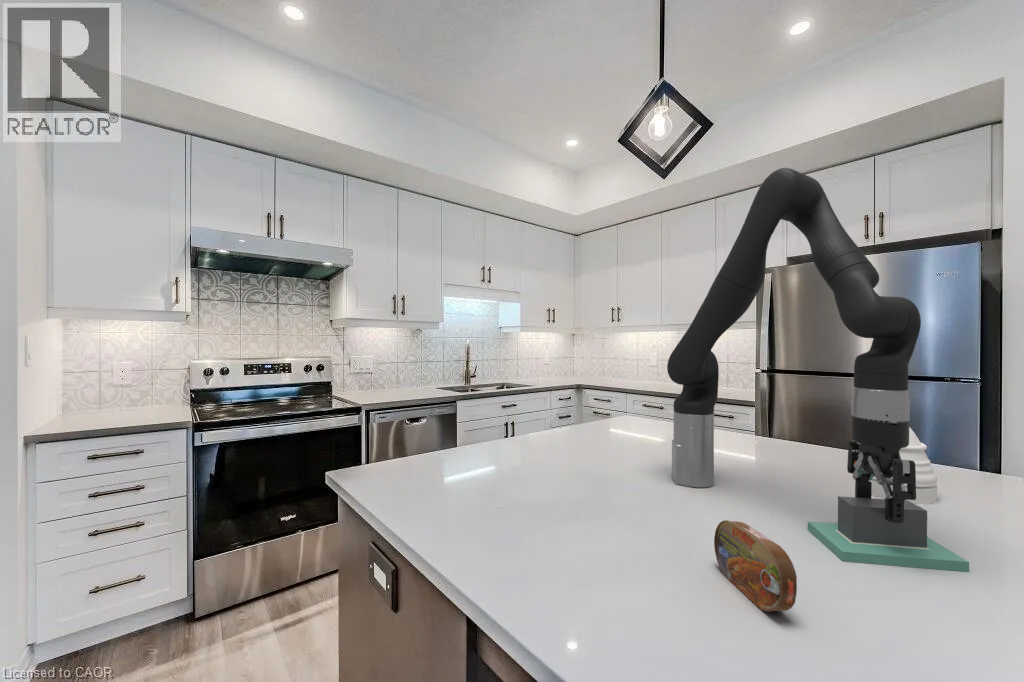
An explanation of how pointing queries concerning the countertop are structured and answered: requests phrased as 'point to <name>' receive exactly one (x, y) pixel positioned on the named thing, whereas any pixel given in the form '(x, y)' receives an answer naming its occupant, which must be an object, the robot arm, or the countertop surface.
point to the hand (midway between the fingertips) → (877, 511)
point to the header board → (887, 551)
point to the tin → (755, 566)
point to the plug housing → (881, 523)
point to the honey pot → (924, 473)
